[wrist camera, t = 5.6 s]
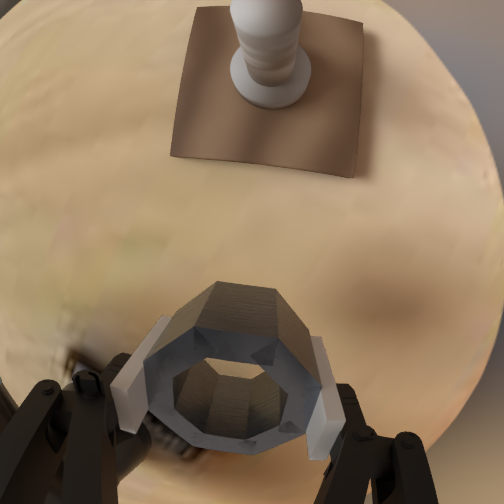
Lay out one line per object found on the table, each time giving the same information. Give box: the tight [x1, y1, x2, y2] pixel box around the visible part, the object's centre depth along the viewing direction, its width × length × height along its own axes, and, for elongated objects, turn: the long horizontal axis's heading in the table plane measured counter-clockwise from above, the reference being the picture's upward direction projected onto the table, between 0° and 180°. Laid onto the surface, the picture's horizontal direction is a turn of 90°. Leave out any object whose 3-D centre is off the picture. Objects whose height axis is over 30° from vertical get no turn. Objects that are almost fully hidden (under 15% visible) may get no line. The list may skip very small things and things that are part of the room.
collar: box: [143, 281, 322, 455], centre depth 13 cm, size 7×7×5 cm
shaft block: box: [170, 0, 363, 178], centre depth 15 cm, size 14×14×12 cm
